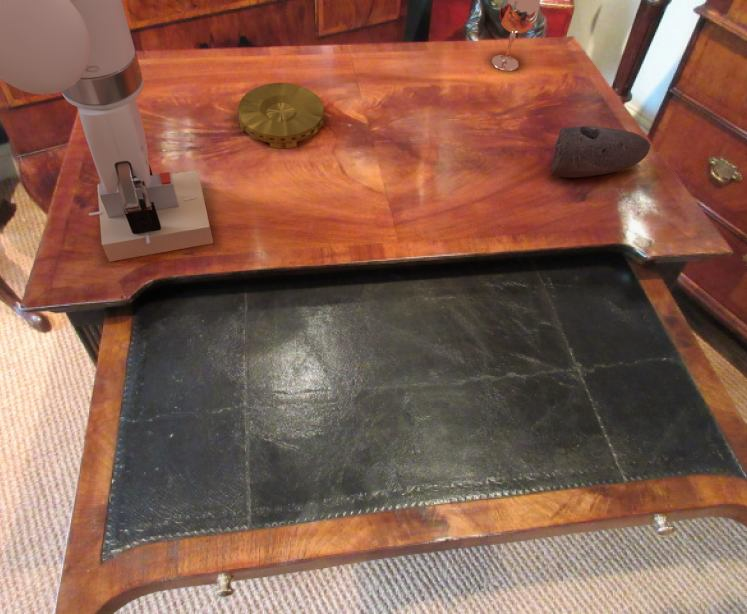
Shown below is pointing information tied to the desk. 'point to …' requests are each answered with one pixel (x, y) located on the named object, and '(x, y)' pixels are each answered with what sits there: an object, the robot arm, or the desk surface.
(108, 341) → the desk surface
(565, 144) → the perforated stone tool
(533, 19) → the wineglass
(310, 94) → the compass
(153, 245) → the tap plate
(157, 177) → the grey rectangular block
